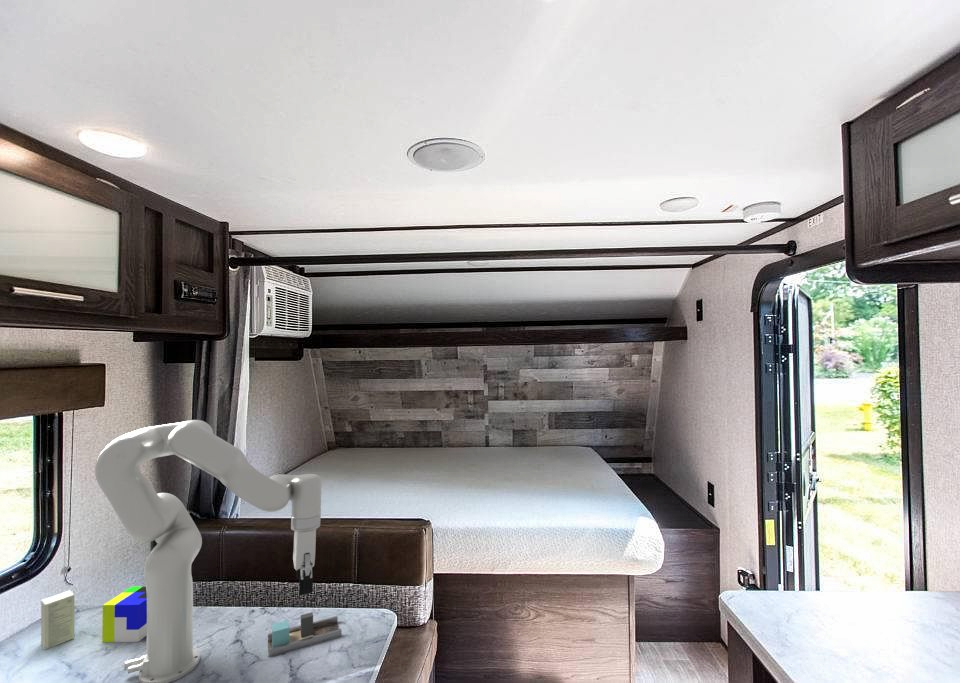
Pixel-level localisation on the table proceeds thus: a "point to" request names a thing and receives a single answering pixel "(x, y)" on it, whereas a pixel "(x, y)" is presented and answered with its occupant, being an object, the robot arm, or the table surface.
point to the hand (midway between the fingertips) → (304, 585)
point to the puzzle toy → (126, 616)
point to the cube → (280, 633)
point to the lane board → (311, 640)
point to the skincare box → (57, 619)
